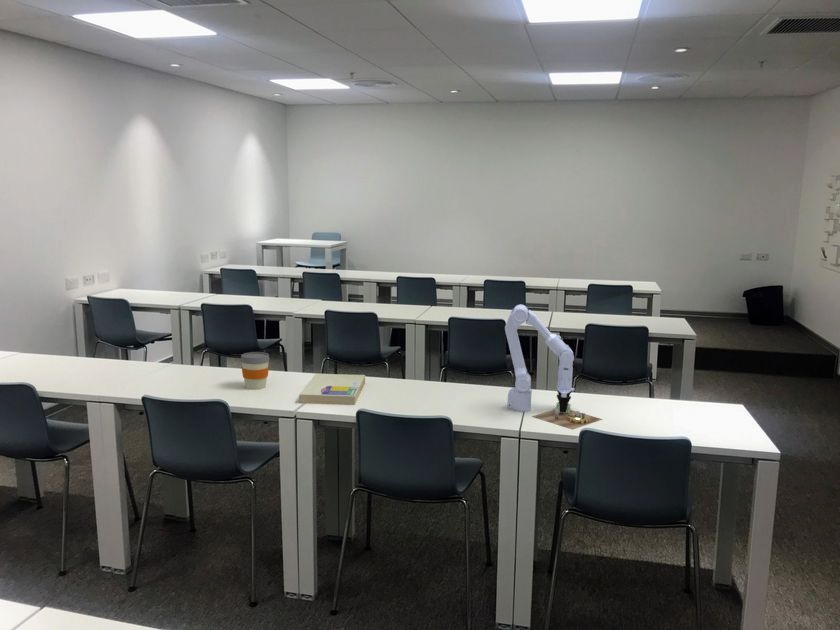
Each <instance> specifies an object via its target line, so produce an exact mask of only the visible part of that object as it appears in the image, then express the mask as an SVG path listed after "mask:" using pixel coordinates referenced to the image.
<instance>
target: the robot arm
mask: <svg viewBox="0 0 840 630" xmlns="http://www.w3.org/2000/svg"><path fill="white" fill-rule="evenodd" d="M524 323H525V324H526V325H528V326H529V325H531V326H532V327H533V328H534V329H535V330H536V331H537V332H538V333H539V334H540V335H541V336H542V337H543V338H544V339H545V345H546V346H547V347H548V348H549V349H550V350H551V351H552V352H553V354H554V355H556V356H558V360H559V364H558V366H557V367H558V370H557V384H556V385H557V386H556V391H557V394H556V399H557V401H558V402H559V406H560V412H566V410H567V405H568V403H569V402H570V400H571V399H572V396H571V394H572V392H575V388H574V387H572V386H573V383H572V382H573V372H574V371H573V370H574V368H573V365H574V363H573V362H574V360H575V355H574V352H573V350H572V348H571V347H570V346H569V344H566V343H565V342H564V341H563V340H562V337H561V335H558V334H557V333H552V332H550V330H549V329H548V328H547V327H546V326H545V324H544V323H543V322H542V321H541V319H539V317H538V316H537V315H536V314H535V313H534V312H533V311H532V310H531V309H529V307H527V305H524V304H523V303H522V304H517V305H515V306H514V308H512V310H511V311H510V314H509V315H508V318H507V321H506V324H505V326H504V331H505V335H506V339H507V344H508V348H509V351H510V353H509V354H510V356H511V360H512V365H513V368H514V369H513V370H514V375H515V376H514V377H515V383H514V384H515V385H514V386H515V387H512V388H510V389H509V390H508V393H507V408H509V409H511V410H514V411H516V412H522V413H523V412H524V413H525V412H530V411H531V410H532V391H533V390H532V388H531V386H532V377H531V374H529V372H528V369H527V367H526V363H525V359H524V355H523V351H522V346H521V343H520V338H519V334H518V329H519V328H520V326H521V325H523V324H524Z"/></svg>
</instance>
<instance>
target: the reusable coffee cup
mask: <svg viewBox="0 0 840 630" xmlns="http://www.w3.org/2000/svg"><path fill="white" fill-rule="evenodd" d="M240 356H241V357H240V362H241V365H242V366H241V373H242V377H243V379H244V387H245V389H247V390H251V391H252V390H253V391H254V390H255V391H256V390H263V389H265V388H266V386H267V380H268V376H269V369H270V368H269V367H270V366H269V362H270V356H269V353H267V352H263V351H262V352H261V351H250V352H244V353H243V354H241V355H240Z"/></svg>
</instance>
